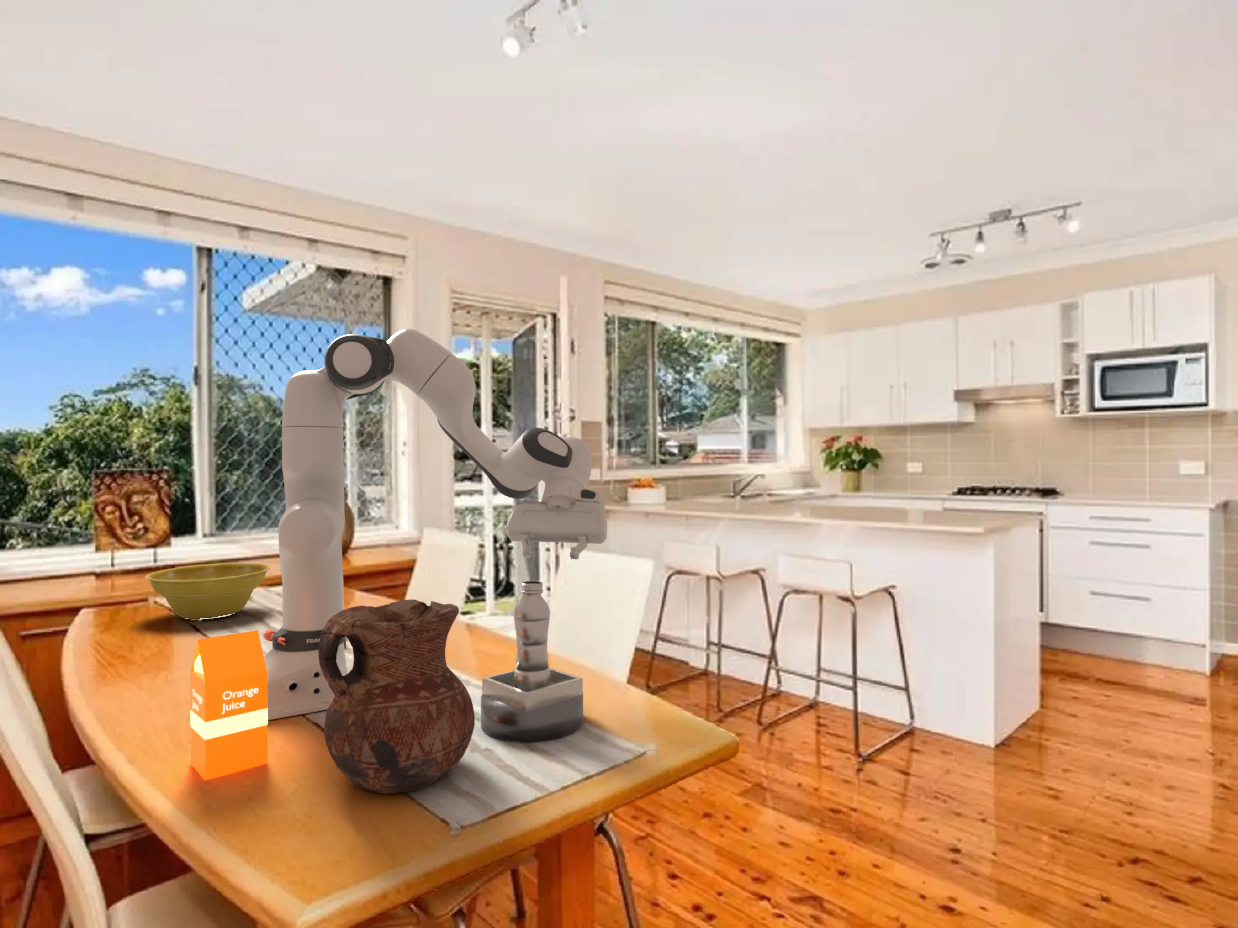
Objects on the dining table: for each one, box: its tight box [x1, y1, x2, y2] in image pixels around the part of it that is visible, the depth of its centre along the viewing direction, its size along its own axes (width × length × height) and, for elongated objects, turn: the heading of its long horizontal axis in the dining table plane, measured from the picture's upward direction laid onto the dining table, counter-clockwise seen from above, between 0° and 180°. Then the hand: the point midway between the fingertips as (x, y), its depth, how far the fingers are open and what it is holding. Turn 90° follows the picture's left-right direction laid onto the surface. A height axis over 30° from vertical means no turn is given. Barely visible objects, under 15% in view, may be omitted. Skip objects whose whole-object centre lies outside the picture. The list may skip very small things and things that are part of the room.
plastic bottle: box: [512, 580, 551, 692], centre depth 131 cm, size 6×7×20 cm
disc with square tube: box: [480, 666, 584, 744], centre depth 132 cm, size 18×20×8 cm
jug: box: [319, 599, 476, 794], centre depth 110 cm, size 22×21×25 cm
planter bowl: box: [144, 562, 271, 619], centre depth 217 cm, size 32×32×13 cm
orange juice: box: [189, 629, 269, 781], centre depth 113 cm, size 8×9×20 cm
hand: (550, 556), depth 143 cm, fingers open, 8 cm apart
